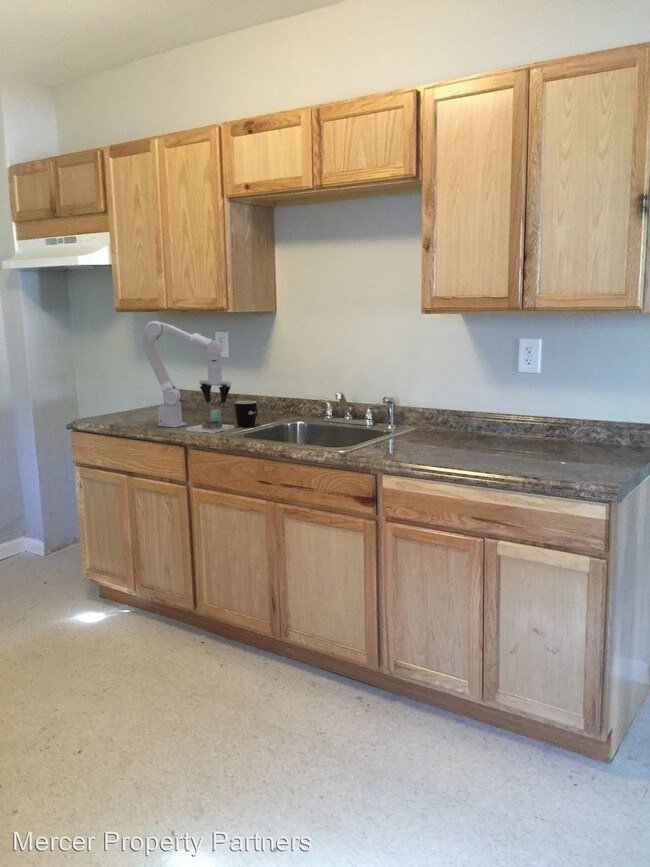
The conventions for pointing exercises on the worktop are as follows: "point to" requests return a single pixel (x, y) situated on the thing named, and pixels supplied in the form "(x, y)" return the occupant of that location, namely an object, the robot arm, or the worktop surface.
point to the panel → (210, 427)
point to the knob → (215, 415)
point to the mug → (246, 413)
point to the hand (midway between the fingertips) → (215, 402)
